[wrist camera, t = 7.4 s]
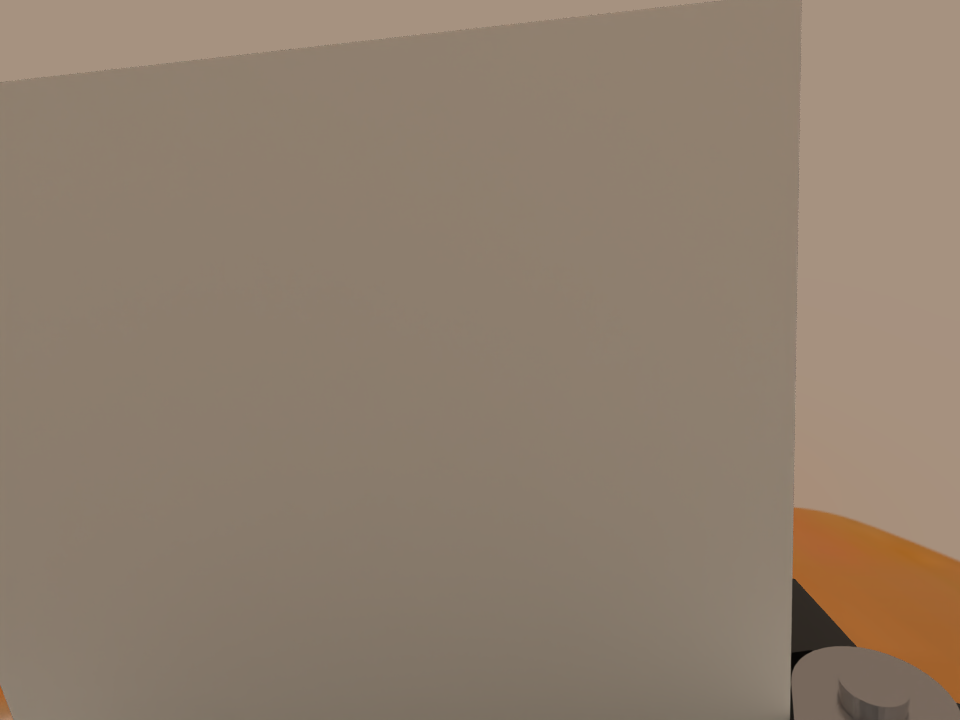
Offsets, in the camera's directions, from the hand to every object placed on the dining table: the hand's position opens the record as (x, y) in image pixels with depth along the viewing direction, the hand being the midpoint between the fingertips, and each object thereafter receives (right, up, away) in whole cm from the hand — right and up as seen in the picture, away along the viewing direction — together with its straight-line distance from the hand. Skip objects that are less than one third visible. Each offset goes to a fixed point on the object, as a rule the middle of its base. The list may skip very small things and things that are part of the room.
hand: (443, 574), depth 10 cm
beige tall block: (+1, -10, 0) cm, 10 cm away
